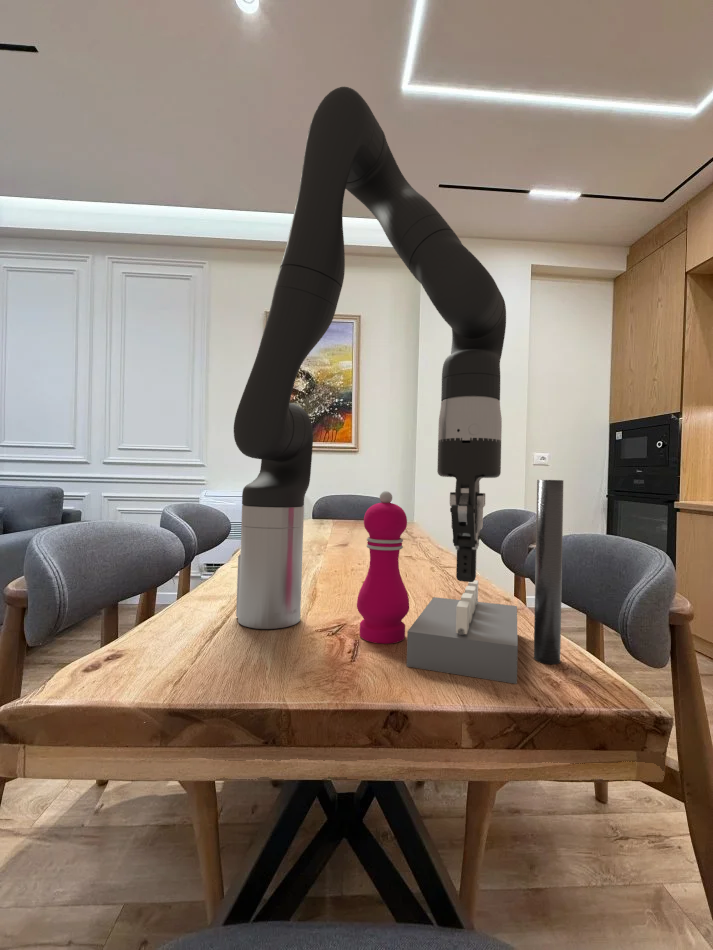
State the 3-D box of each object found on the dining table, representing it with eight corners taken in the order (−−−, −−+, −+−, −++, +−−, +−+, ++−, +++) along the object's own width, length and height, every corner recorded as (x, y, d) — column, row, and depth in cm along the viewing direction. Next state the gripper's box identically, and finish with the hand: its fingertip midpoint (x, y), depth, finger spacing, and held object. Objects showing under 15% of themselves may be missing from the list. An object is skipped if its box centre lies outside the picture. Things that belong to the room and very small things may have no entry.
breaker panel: (406, 666, 53) (407, 631, 53) (432, 623, 70) (433, 597, 70) (516, 683, 49) (517, 646, 49) (516, 633, 66) (516, 606, 66)
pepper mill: (405, 647, 59) (410, 492, 59) (351, 642, 60) (355, 490, 61) (410, 630, 66) (414, 491, 66) (361, 626, 67) (365, 490, 68)
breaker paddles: (455, 634, 52) (456, 606, 52) (469, 601, 67) (469, 579, 67) (466, 636, 51) (467, 607, 52) (477, 602, 67) (478, 580, 67)
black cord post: (529, 658, 56) (532, 479, 57) (540, 653, 58) (543, 480, 59) (554, 666, 54) (557, 479, 55) (564, 660, 56) (567, 480, 57)
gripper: (446, 443, 64) (443, 569, 63) (429, 432, 51) (425, 588, 51) (502, 443, 61) (500, 574, 61) (499, 431, 49) (496, 595, 48)
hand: (466, 580), depth 56 cm, fingers closed
